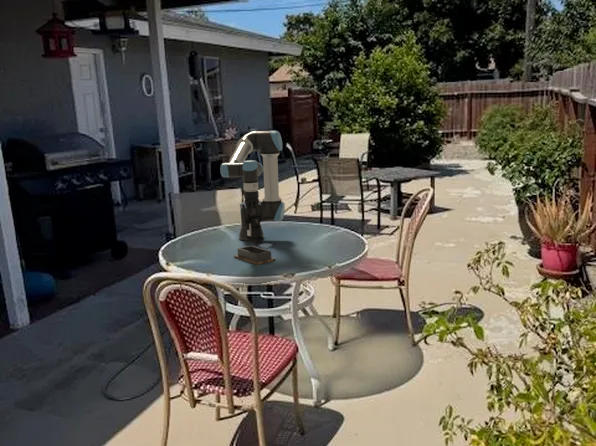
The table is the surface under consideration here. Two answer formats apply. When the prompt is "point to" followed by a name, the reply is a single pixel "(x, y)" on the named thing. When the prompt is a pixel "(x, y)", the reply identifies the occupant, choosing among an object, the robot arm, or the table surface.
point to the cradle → (254, 253)
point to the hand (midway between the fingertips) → (253, 234)
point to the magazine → (255, 230)
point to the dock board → (254, 261)
